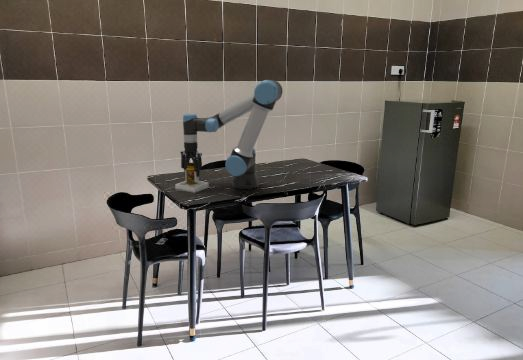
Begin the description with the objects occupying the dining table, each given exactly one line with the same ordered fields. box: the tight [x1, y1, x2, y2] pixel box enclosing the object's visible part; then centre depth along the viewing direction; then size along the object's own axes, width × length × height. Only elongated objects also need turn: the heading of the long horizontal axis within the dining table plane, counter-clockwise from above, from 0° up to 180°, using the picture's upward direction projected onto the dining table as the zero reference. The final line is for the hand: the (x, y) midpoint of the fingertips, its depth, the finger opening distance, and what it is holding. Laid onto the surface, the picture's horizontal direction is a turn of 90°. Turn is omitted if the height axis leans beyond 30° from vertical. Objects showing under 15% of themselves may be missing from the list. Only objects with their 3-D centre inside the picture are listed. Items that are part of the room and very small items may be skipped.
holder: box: [174, 180, 210, 194], centre depth 229 cm, size 14×13×3 cm
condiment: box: [183, 162, 199, 186], centre depth 227 cm, size 7×8×12 cm
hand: (192, 181), depth 228 cm, fingers closed on condiment, 6 cm apart
